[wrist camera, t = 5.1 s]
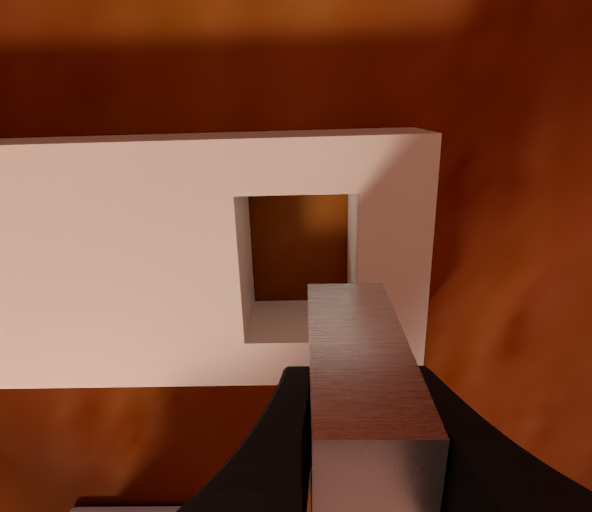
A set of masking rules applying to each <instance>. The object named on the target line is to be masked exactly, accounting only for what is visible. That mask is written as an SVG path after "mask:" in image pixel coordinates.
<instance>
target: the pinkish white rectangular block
mask: <svg viewBox="0 0 592 512" xmlns="http://www.w3.org/2000/svg"><path fill="white" fill-rule="evenodd" d="M308 366H309V372H310V490H311V512H440V508H441V501H442V493H443V486H444V479H445V471H446V464H447V456H448V449H449V441H450V439H449V437H448V435H447V432H446V430H445V428H444V425H443V423H442V421H441V418H440V416H439V414H438V411H437V409H436V407H435V404H434V402H433V399H432V397H431V395H430V392H429V390H428V388H427V385H426V383H425V381H424V378H423V376H422V374H421V371H420V369H419V367H418V364H417V362H416V360H415V357H414V355H413V353H412V350H411V348H410V346H409V343H408V341H407V339H406V336H405V334H404V332H403V329H402V327H401V324H400V322H399V320H398V317H397V315H396V313H395V310H394V308H393V306H392V303H391V301H390V299H389V296H388V294H387V292H386V289H385V287H384V285H383V283H360V284H308Z"/></svg>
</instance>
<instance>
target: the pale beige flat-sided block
mask: <svg viewBox="0 0 592 512" xmlns="http://www.w3.org/2000/svg"><path fill="white" fill-rule="evenodd" d="M441 141H442V133H439V132H434V131H430V130H425V129H420V128H416V127H398V128H361V129H325V130H288V131H251V132H215V133H178V134H141V135H105V136H68V137H31V138H0V389H29V388H103V387H177V386H252V385H278V383H279V381H280V378H281V376H282V373H283V370H284V369H285V368H286V367H287V366H308V300H291V301H255V296H254V280H253V265H252V249H251V234H250V218H249V202H248V196H281V195H323V194H348V253H347V284H360V283H383V285H384V287H385V289H386V292H387V294H388V296H389V299H390V301H391V303H392V306H393V308H394V310H395V313H396V315H397V317H398V320H399V322H400V324H401V327H402V329H403V332H404V334H405V336H406V339H407V341H408V343H409V346H410V348H411V350H412V353H413V355H414V357H415V360H416V362H417V364H418V366H423V364H424V352H425V339H426V327H427V314H428V302H429V290H430V277H431V265H432V252H433V240H434V227H435V215H436V203H437V190H438V178H439V165H440V153H441Z"/></svg>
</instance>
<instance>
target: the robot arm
mask: <svg viewBox="0 0 592 512" xmlns="http://www.w3.org/2000/svg"><path fill="white" fill-rule="evenodd" d="M418 367H419V369H420V371H421V374H422V376H423V378H424V381H425V383H426V385H427V388H428V390H429V392H430V395H431V397H432V399H433V402H434V404H435V407H436V409H437V411H438V414H439V416H440V418H441V421H442V423H443V425H444V428H445V430H446V432H447V435H448V437H449V439H450V441H449V449H448V456H447V464H446V471H445V479H444V486H443V493H442V501H441V508H440V512H592V491H590V490H589V489H587V488H585V487H583V486H582V485H580V484H578V483H577V482H575V481H573V480H571V479H570V478H568V477H566V476H565V475H563V474H561V473H560V472H558V471H556V470H555V469H553V468H551V467H550V466H548V465H547V464H545V463H544V462H542V461H541V460H539V459H538V458H536V457H535V456H533V455H532V454H530V453H529V452H527V451H526V450H524V449H523V448H521V447H520V446H519V445H517V444H516V443H515V442H513V441H512V440H510V439H509V438H508V437H506V436H505V435H504V434H503V433H501V432H500V431H499V430H497V429H496V428H495V427H494V426H492V425H491V424H490V423H489V422H487V421H486V420H485V419H484V418H483V417H481V416H480V415H479V414H478V413H477V412H475V411H474V410H473V409H472V408H471V407H470V406H468V405H467V404H466V403H465V402H464V401H463V400H462V399H461V398H460V397H458V396H457V395H456V394H455V393H454V392H453V391H452V390H451V389H450V388H449V387H448V386H447V385H445V384H444V383H443V382H442V381H441V380H440V379H439V378H438V377H437V376H436V375H435V374H434V373H433V372H432V371H431V370H430V369H428V368H427V367H426V366H418ZM309 476H310V372H309V366H287V367H286V368H285V369H284V370H283V373H282V376H281V378H280V381H279V383H278V385H277V388H276V390H275V392H274V394H273V396H272V397H271V399H270V401H269V403H268V404H267V406H266V408H265V410H264V411H263V413H262V415H261V416H260V418H259V419H258V421H257V422H256V424H255V425H254V427H253V428H252V430H251V431H250V433H249V434H248V436H247V437H246V438H245V440H244V441H243V442H242V444H241V445H240V446H239V448H238V449H237V450H236V451H235V453H234V454H233V455H232V456H231V457H230V459H229V460H228V461H227V462H226V463H225V464H224V466H223V467H222V468H221V469H220V470H219V471H218V472H217V473H216V474H215V475H214V476H213V477H212V478H211V479H210V481H209V482H208V483H207V484H206V485H205V486H204V487H203V488H202V489H201V490H199V491H198V492H197V493H196V494H195V495H194V496H193V497H192V498H191V499H190V500H188V501H187V502H186V503H185V504H184V505H183V506H152V507H74V508H72V509H71V510H70V512H307V501H308V489H309Z"/></svg>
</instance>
